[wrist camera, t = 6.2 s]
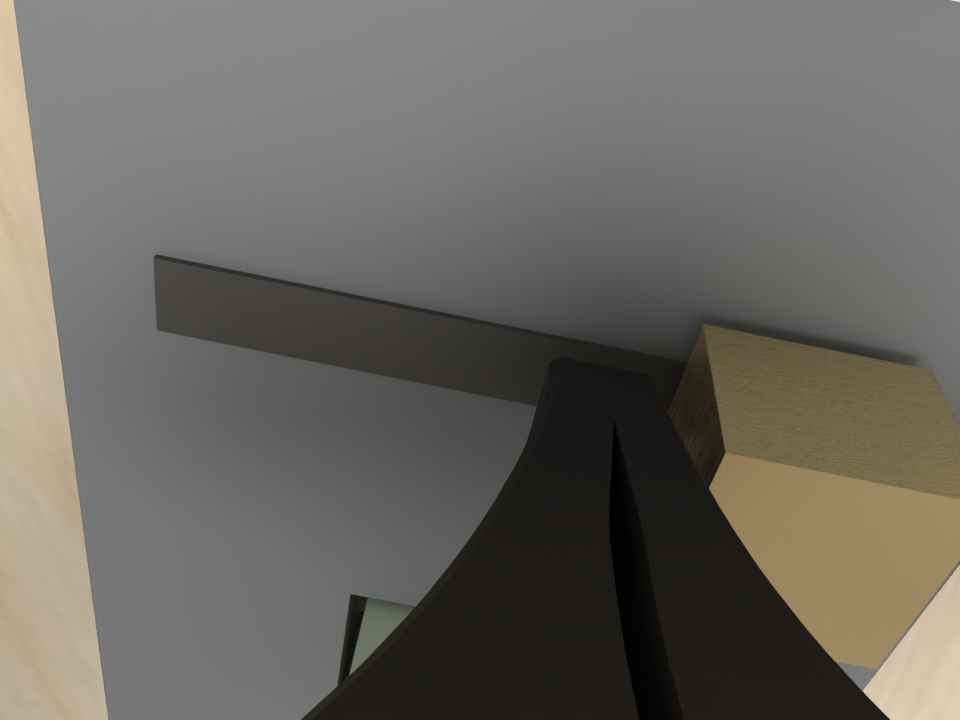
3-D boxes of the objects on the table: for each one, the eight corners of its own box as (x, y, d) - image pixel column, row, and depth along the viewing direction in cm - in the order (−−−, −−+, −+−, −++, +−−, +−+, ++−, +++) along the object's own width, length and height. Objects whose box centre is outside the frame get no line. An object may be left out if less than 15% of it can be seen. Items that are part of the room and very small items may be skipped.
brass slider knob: (835, 527, 13) (875, 669, 12) (636, 488, 13) (644, 624, 11) (932, 370, 12) (1000, 507, 10) (702, 323, 12) (725, 452, 10)
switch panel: (710, 747, 23) (727, 903, 20) (163, 643, 23) (100, 788, 20) (1759, -917, 7) (2528, -1305, 4) (45, -1355, 7) (-347, -2099, 4)
